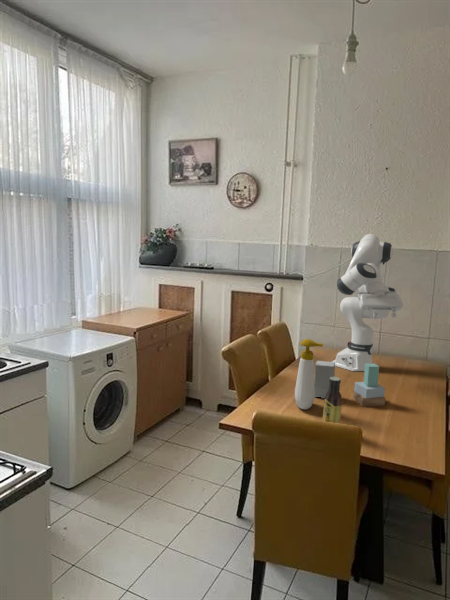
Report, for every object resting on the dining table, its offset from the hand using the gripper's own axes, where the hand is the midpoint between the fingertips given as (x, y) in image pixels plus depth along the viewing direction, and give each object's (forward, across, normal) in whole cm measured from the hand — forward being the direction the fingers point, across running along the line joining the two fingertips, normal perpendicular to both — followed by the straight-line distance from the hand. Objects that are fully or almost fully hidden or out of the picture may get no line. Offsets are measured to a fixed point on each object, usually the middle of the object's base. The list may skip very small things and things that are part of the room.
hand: (384, 316), depth 202 cm
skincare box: (+31, -30, +20) cm, 47 cm away
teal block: (+30, -11, +10) cm, 33 cm away
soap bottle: (+39, -41, +12) cm, 58 cm away
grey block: (+33, -12, +12) cm, 37 cm away
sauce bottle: (+54, -38, -3) cm, 66 cm away
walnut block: (+35, -11, +15) cm, 40 cm away
